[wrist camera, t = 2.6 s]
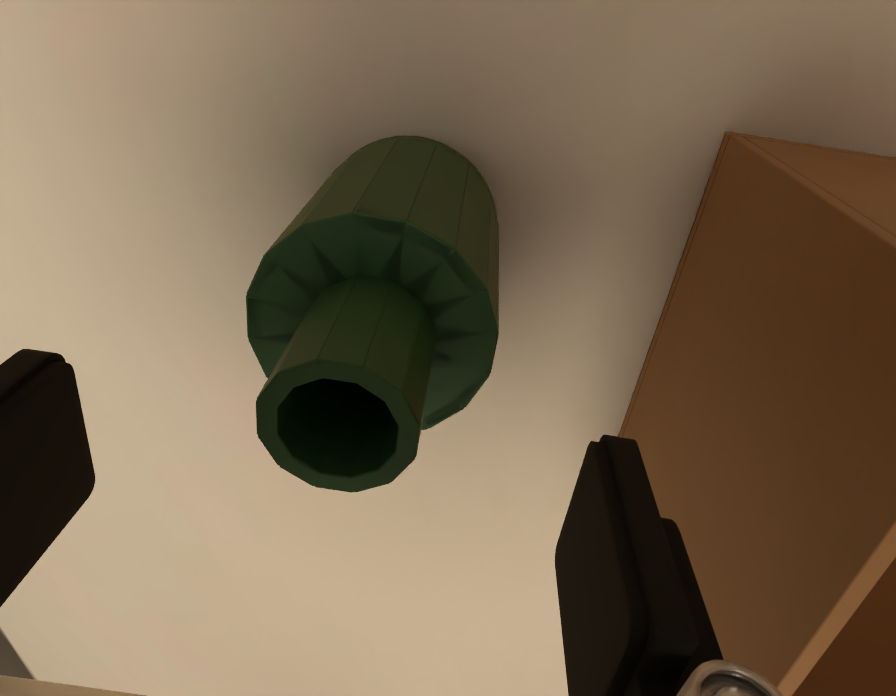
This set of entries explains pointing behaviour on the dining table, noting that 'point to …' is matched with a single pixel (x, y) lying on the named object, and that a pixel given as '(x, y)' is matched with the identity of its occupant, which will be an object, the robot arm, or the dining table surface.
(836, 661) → the shoebox
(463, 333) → the bottle
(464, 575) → the dining table surface
